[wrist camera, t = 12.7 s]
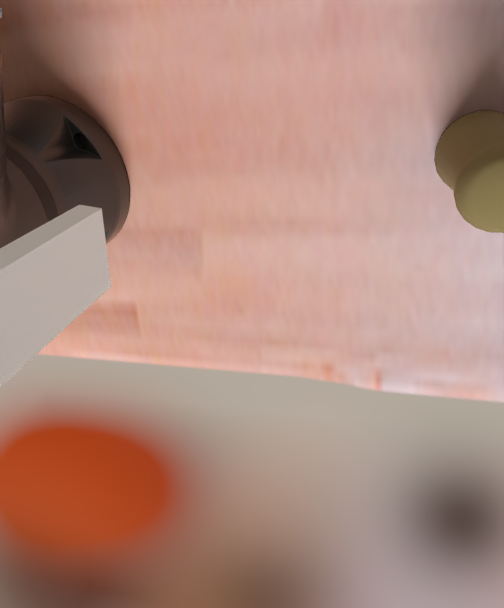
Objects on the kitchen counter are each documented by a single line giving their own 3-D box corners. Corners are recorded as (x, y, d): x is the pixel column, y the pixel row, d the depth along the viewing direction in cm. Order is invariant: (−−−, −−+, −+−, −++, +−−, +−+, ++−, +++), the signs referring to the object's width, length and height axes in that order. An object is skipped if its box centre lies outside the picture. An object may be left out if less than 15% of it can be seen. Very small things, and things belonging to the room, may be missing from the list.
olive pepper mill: (447, 105, 33) (469, 133, 24) (536, 115, 32) (595, 148, 23) (424, 186, 36) (436, 238, 27) (504, 197, 35) (544, 255, 26)
